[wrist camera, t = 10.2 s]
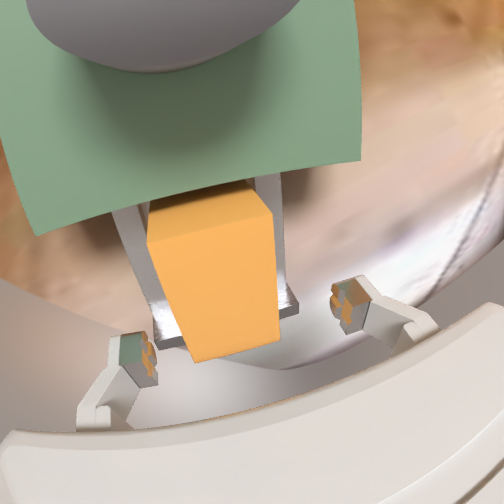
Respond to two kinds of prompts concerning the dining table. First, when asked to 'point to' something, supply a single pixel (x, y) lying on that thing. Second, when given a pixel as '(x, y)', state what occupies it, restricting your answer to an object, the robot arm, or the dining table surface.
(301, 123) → the green block with dome
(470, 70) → the dining table surface
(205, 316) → the orange block
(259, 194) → the open gray drawer
